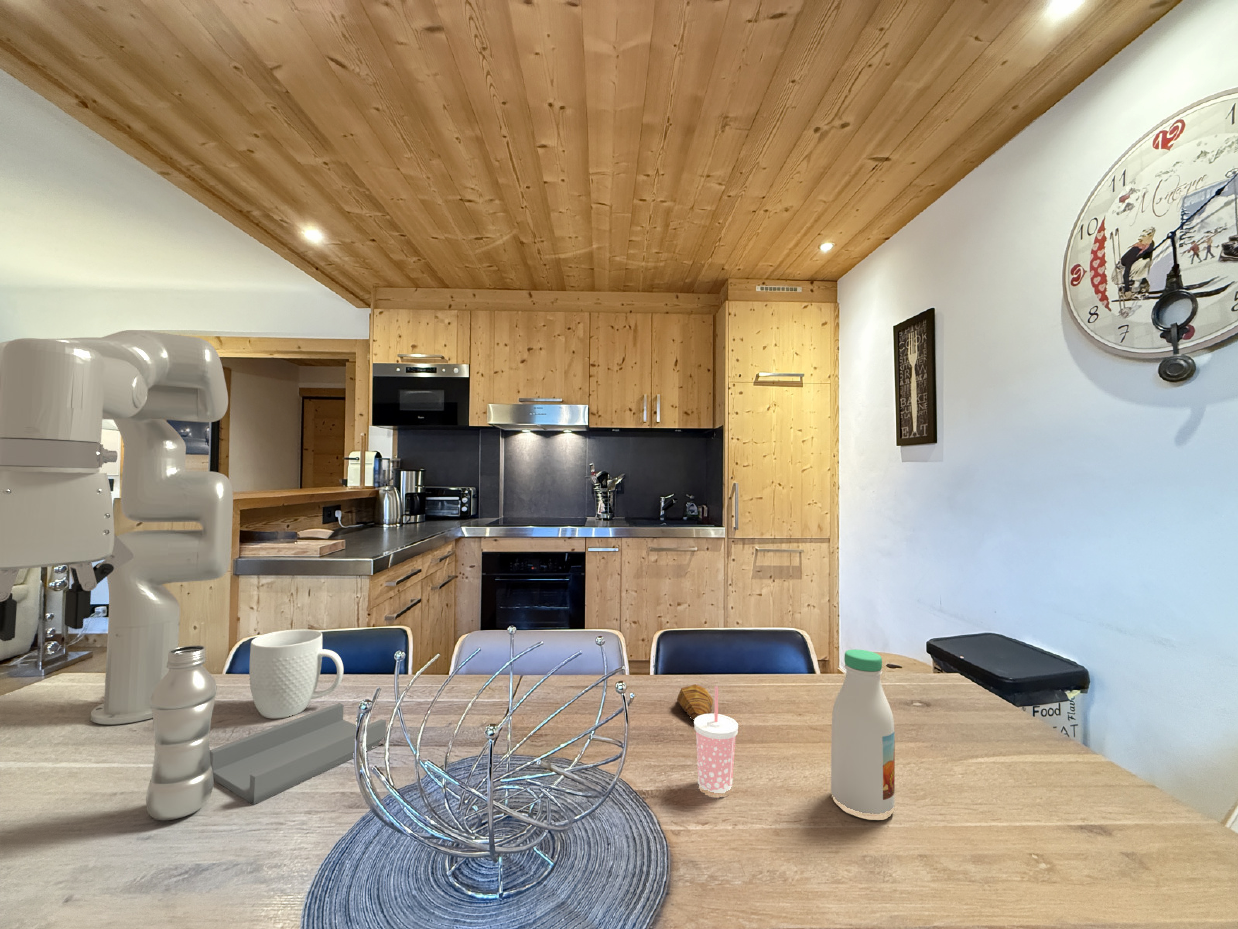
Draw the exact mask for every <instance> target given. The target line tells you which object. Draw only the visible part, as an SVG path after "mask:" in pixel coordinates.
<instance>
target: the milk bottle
mask: <svg viewBox="0 0 1238 929" xmlns="http://www.w3.org/2000/svg"><path fill="white" fill-rule="evenodd" d="M844 668H845V670H846V671H845V672H846V673H845V677H844V680H843V683H842V685H841V688H840V690H839V691H838V693H837V695H836V697H835V700H834V702H833V707H832V717H831V737H830V738H831V741H830V742H831V744H830V748H831V749H830V753H831V754H830V794H831V793H832V795H833V797H835V799H836V800H837V801H838V802H840V803H841V804H843V805H845V806H846V807H847V808H850V809H853V810H855V811H859V812H862V813H870V814H872V813H873V814H880V813H885V812H886V811H890V810H891V809H892V808H893V807H894V808H895V791H896V790H895V786H896V785H895V780H896V779H895V768H896V766H895V765H896V764H895V763H896V761H895V760H896V759H895V756H896V755H895V752H896V750H895V747H896V745H895V743H896V741H895V740H896V739H895V723H894V722H895V721H894V715H893V712H892V709H891V706H890V703H889V701H888V698H887V697H886V694H885V692H884V689H883V686H882V682H881V675H882V674H883V670H882V669H883V658H882V657H881V655H880V654H878V653H876V652H873V651H870V650H866V649H848V650H846V651H845V652H844Z"/></svg>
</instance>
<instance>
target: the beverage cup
mask: <svg viewBox="0 0 1238 929" xmlns="http://www.w3.org/2000/svg"><path fill="white" fill-rule="evenodd" d="M693 725H694V728H693V729H694V730H695V734H696V735H695V736H696V762H697V764H696V765H697V782H698V783H697V785H698V784H699V785H700V787H702V788H703V789H704V790H708V791H710V792H714V793H725V792H726V791H728V790H730V789H731V787H732V788H733V778H734V765H735V763H734V762H735V751H736V749H735V748H736V739H737V738H736V737H737V735H738V734H739V731H738V730H739V723H738V722H737V721H736V720H735V719H734V718H733V717H729V716H727V715H724V714H720V713H719V686H718V685H715V686H714V713H710V714H703V715H700V716H698V717H696V718H695V720H694V721H693Z"/></svg>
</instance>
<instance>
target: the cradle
mask: <svg viewBox="0 0 1238 929" xmlns="http://www.w3.org/2000/svg"><path fill="white" fill-rule="evenodd" d="M344 706H345V705H344V704H343V703H340V702H338V703H336V704H333V705H331V706H328V707H325V708H322V709H319V710H316V711H314V712H311V713H308V714H305V715H303V716H300V717H297V718H294V719H291V720H289V721H286V722H283V723H280V724H278V725H276V726H273V727H269V728H266V729H264V730H261V731H259V732H257V733H254V734H251V735H248V736H245V737H243V738H239V739H237V740H234V741H232V742H230V743H225V744H223V745H221V746H218V747H215V748H212V749H210V764H211V767H212V771H213V779H214V782H217V783H218V784H220V785H222V786H223V787H225V788H226V789H228V790H229V791H230V792H233V793H234V794H235V795H237V796H238V797H240V798H242V799H244V800H245V801H246V802H249V803H250V804H252V806H255V805H257V804H260V803H261V802H264V801H266V800H268V799H270V798H272V797H274V796H276V795H279V794H280V793H283V792H284V791H285V792H286V791H287V790H290V789H291V788H293V787H296V786H297V785H298V786H299V785H300V784H302V783H304V782H306V781H308V780H311V779H313V778H315V777H317V776H319V775H321V774H324V773H325V772H328V771H330V770H331V769H332V770H333V768H337V767H338V766H340V765H342V764H344V763H347V762H348V761H351V760H352V759H354V758H353V753H354V739H355V733H356V725H357V724H355V723H353V722H349V721H348V720H345V719H344ZM366 725H367V751H368V752H370V751H372V750H373V749H372V746H373V747H374V746H378V744H379V742H380V741H381V740H382V739H383V738H384V740H385V741H386V733H387V732H386V731H387V721H386V720H385V719H378V720H376V721H373V722H372V723H369V724H366ZM371 749H372V750H371ZM312 777H313V778H312ZM301 782H302V783H301Z"/></svg>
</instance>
